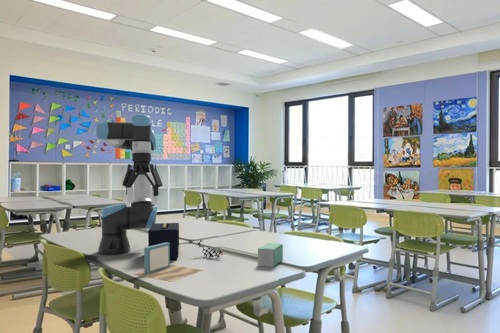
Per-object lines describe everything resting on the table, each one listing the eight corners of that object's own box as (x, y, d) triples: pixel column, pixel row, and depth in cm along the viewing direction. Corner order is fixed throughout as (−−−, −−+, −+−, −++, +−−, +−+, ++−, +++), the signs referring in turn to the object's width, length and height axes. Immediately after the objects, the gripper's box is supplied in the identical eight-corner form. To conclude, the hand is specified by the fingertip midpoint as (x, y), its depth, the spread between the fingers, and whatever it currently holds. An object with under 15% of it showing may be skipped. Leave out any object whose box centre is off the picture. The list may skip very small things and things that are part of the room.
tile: (144, 273, 149) (144, 247, 149) (166, 266, 160) (165, 242, 160) (148, 274, 148) (148, 248, 148) (170, 267, 159) (169, 242, 159)
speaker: (178, 261, 171) (178, 227, 171) (148, 263, 169) (148, 228, 169) (179, 251, 192) (178, 221, 192) (152, 252, 190) (152, 221, 190)
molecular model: (219, 260, 171) (219, 242, 171) (194, 256, 180) (194, 239, 180) (227, 258, 176) (227, 240, 176) (203, 254, 185) (203, 237, 185)
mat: (133, 275, 148) (133, 274, 148) (165, 265, 164) (165, 264, 164) (172, 283, 138) (172, 281, 138) (203, 271, 153) (203, 270, 153)
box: (283, 259, 172) (283, 243, 172) (274, 267, 160) (274, 249, 160) (267, 258, 175) (267, 242, 175) (257, 266, 162) (257, 248, 162)
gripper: (113, 152, 163) (113, 203, 163) (158, 151, 151) (158, 205, 151) (126, 153, 169) (127, 201, 169) (170, 151, 157) (171, 203, 157)
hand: (142, 203), depth 160 cm, fingers open, 13 cm apart
